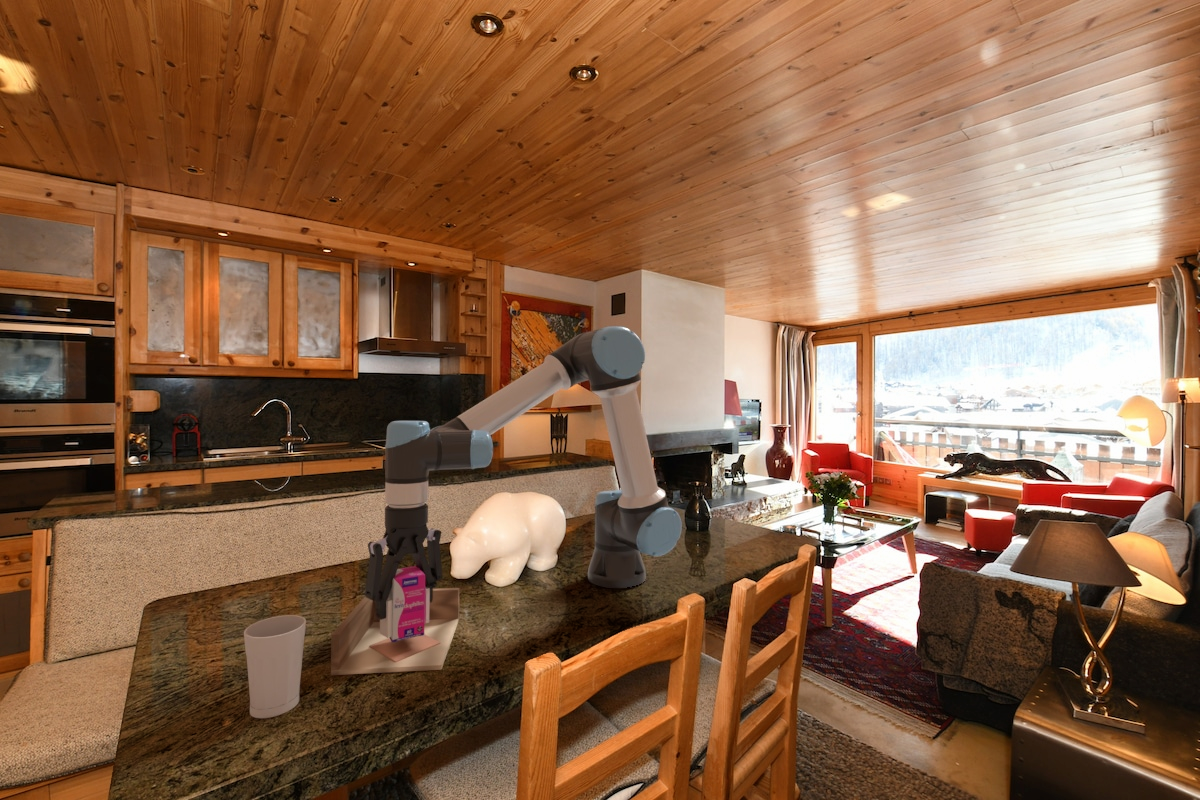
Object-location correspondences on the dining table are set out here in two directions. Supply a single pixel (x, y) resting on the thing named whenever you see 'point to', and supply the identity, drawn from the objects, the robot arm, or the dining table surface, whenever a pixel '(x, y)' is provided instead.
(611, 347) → the robot arm
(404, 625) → the supplement box
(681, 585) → the dining table surface
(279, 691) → the cup
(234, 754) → the dining table surface
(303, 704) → the dining table surface
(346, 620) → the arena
